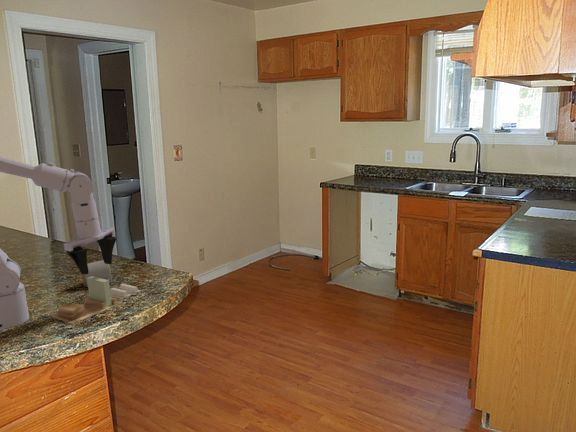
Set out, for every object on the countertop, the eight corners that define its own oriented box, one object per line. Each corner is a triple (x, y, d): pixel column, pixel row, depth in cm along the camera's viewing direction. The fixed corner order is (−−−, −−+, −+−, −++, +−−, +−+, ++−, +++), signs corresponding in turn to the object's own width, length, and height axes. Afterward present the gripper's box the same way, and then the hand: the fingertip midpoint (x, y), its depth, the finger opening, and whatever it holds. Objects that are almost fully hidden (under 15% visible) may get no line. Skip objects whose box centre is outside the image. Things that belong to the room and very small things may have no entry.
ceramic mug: (82, 284, 145) (79, 260, 143) (110, 279, 149) (107, 256, 147) (85, 295, 136) (81, 270, 134) (114, 290, 139) (111, 265, 138)
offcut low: (72, 320, 116) (71, 316, 116) (57, 316, 119) (57, 311, 119) (86, 314, 119) (86, 310, 119) (72, 310, 122) (71, 306, 122)
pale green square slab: (106, 307, 124) (103, 282, 122) (90, 302, 127) (87, 278, 126) (111, 305, 125) (108, 280, 123) (95, 300, 129) (92, 276, 127)
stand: (121, 302, 129) (120, 293, 129) (107, 298, 133) (106, 290, 132) (141, 293, 135) (140, 285, 135) (127, 290, 138) (126, 282, 138)
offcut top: (73, 315, 116) (72, 310, 116) (58, 312, 118) (58, 308, 118) (84, 309, 119) (83, 305, 119) (70, 307, 121) (69, 302, 121)
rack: (72, 327, 114) (71, 317, 114) (51, 320, 119) (49, 310, 119) (123, 305, 127) (122, 297, 126) (101, 299, 132) (100, 291, 131)
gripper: (72, 227, 113) (84, 280, 116) (119, 212, 126) (128, 260, 129) (54, 226, 117) (65, 277, 120) (101, 211, 129) (110, 258, 132)
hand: (96, 268), depth 125 cm, fingers open, 7 cm apart
